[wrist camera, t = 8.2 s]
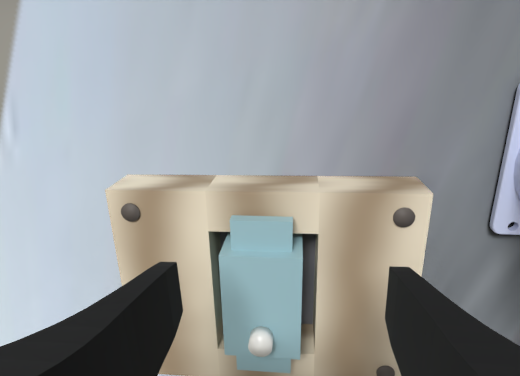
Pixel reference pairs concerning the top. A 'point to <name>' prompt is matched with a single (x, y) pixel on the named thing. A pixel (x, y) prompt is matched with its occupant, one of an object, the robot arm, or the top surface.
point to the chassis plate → (314, 259)
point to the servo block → (262, 292)
